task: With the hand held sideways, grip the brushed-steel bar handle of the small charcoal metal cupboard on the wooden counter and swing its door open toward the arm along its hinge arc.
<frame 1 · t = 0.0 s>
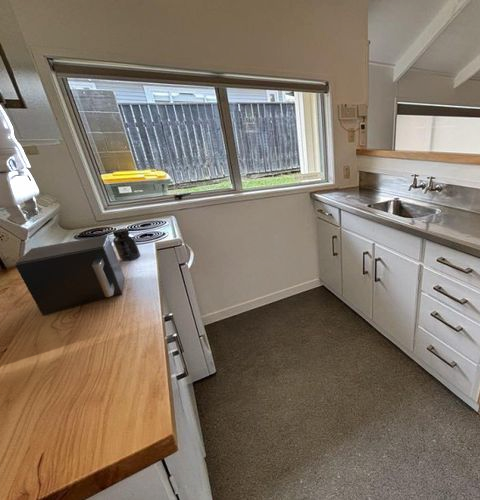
hand: (29, 218, 72), 27 cm above the counter, tool pointing down, fingers open, 8 cm apart
cupboard: (88, 294, 89), on the counter
supplement bottle: (130, 258, 116), on the counter
cupboard door: (71, 284, 78), point 8 cm above the counter, hinge at 0.0°
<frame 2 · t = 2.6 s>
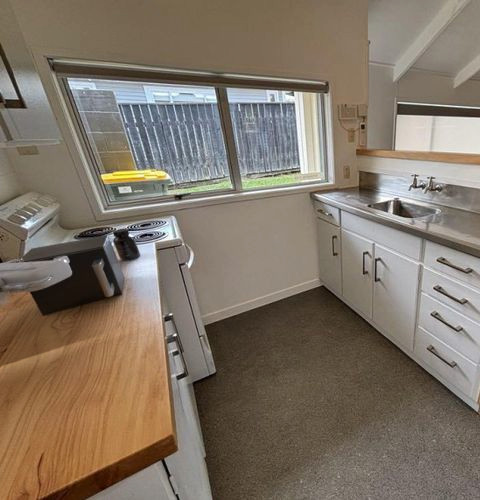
hand: (43, 260, 63), 20 cm above the counter, tool horizontal, fingers open, 8 cm apart
nothing on the counter moved.
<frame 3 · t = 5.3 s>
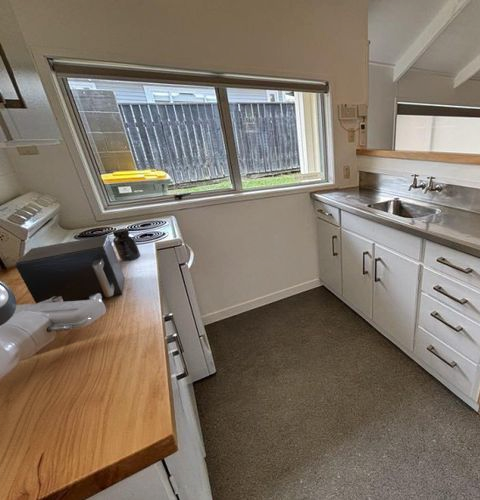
hand: (79, 297, 72), 8 cm above the counter, tool horizontal, fingers open, 8 cm apart
nothing on the counter moved.
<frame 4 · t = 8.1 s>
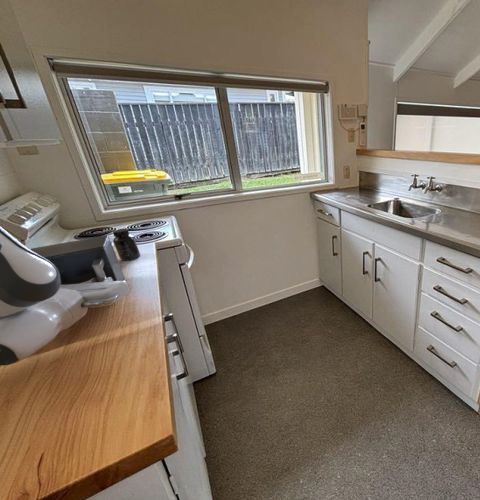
hand: (103, 279, 80), 8 cm above the counter, tool horizontal, fingers closed, pressing on cupboard door
cupboard door: (71, 284, 78), point 8 cm above the counter, hinge at -0.1°, touching gripper
everything else where it was.
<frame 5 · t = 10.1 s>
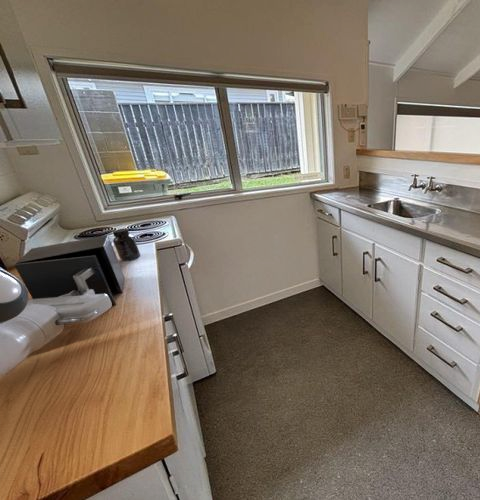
hand: (84, 292, 74), 8 cm above the counter, tool horizontal, fingers closed, pressing on cupboard door
cupboard door: (60, 291, 75), point 8 cm above the counter, hinge at 21.9°, touching gripper
everything else where it was.
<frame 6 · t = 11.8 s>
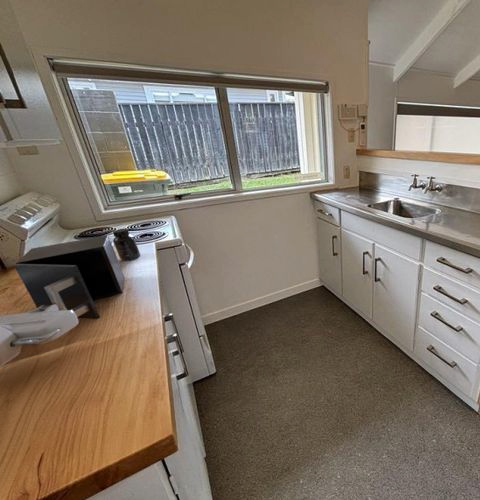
hand: (51, 307, 68), 8 cm above the counter, tool horizontal, fingers closed
cupboard door: (45, 297, 72), point 8 cm above the counter, hinge at 41.8°
everything else where it was.
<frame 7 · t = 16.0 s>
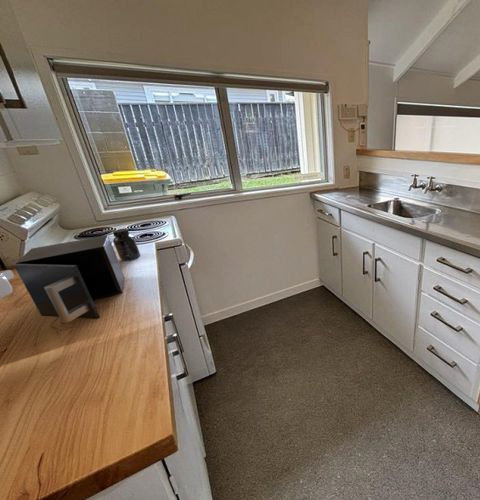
nothing on the counter moved.
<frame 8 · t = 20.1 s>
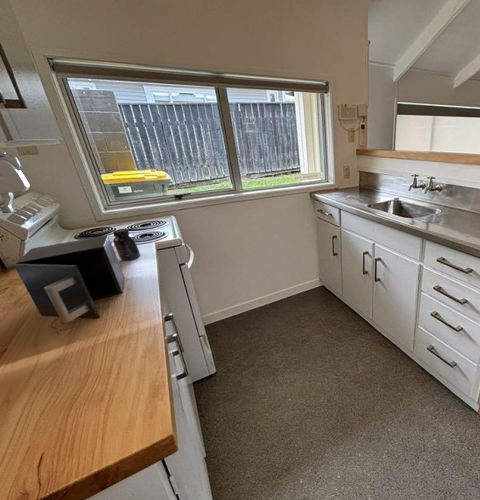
nothing on the counter moved.
at the end: cupboard door at +42° (first picture: +0°); the gripper is holding nothing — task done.
